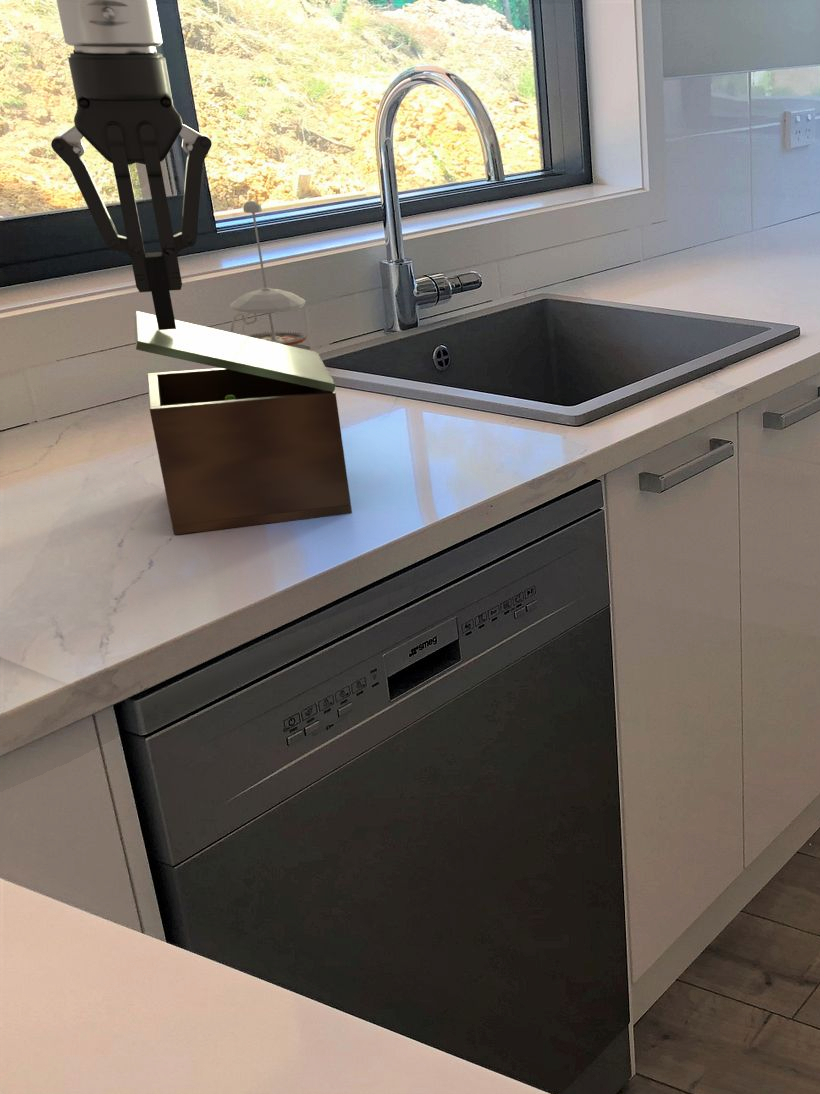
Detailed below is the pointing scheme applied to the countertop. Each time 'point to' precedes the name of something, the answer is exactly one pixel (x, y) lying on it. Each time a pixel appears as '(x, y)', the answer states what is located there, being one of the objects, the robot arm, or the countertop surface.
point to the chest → (246, 449)
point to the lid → (232, 352)
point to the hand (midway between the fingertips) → (167, 326)
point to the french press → (268, 302)
